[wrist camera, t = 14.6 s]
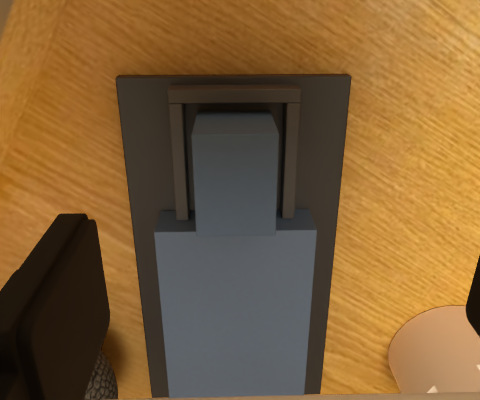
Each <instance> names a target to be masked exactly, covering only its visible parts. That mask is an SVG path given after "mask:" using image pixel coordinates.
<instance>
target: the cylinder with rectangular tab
mask: <svg viewBox="0 0 480 400" xmlns="http://www.w3.org/2000/svg"><path fill="white" fill-rule="evenodd" d="M388 361H389V366H390V369H391V371H392V373H393V376H394V378H395V380H396V383H397V385H398V387H399V390H400V392H401V393H445V392H480V337H479V336H478V334H477V333H476V331H475V330H474V329H473V327H472V326H471V324H470V323H469V321H468V319H467V317H466V307H465V306H444V307H438V308H433V309H431V310H428V311H426V312H423V313H421V314H419V315H417V316H416V317H414V318H412V319H411V320H409V321H408V322H406V323H405V324H404V325H403V327H402V328H401V329H400V330H399V331H398V332H397V333H396V335H395V336H394V338H393V340H392V342H391V343H390V347H389V352H388Z"/></svg>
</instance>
